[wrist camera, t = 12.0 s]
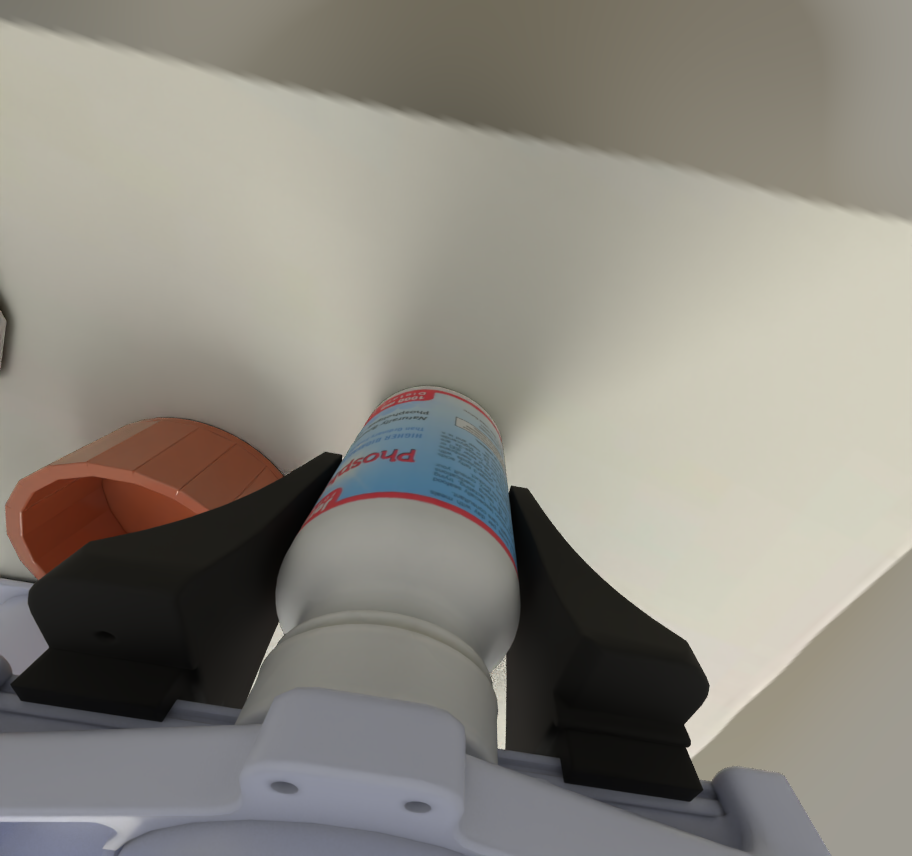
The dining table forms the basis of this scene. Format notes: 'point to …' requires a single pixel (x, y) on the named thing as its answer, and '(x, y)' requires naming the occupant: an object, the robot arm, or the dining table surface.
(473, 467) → the pill bottle
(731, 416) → the dining table surface
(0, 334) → the flask
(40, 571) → the bowl
